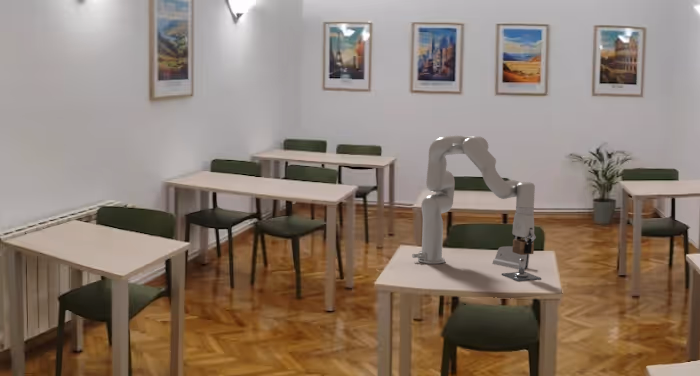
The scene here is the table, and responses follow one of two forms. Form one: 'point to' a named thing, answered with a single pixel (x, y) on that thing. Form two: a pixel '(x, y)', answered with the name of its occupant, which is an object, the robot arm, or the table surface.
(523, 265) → the post
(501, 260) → the hinge
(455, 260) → the table surface
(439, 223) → the robot arm
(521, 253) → the collar
